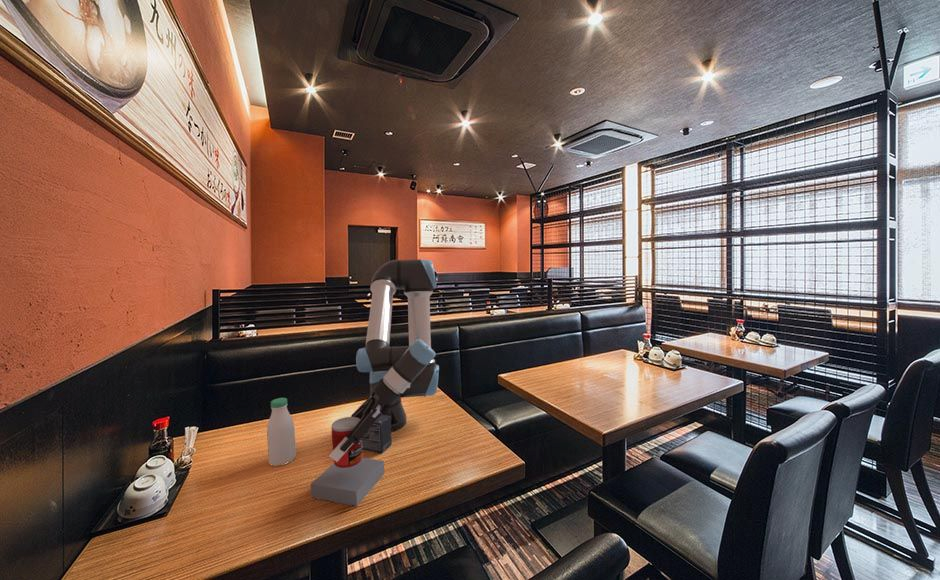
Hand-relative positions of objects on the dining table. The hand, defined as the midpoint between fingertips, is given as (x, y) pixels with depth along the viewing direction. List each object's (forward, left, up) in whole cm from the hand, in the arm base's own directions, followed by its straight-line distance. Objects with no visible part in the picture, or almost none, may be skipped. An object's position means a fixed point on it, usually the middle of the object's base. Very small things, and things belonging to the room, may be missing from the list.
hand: (334, 450), depth 93 cm
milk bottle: (-8, -26, -11) cm, 30 cm away
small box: (-22, -1, -12) cm, 25 cm away
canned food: (-2, +3, -4) cm, 5 cm away
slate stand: (-2, +3, -11) cm, 12 cm away
